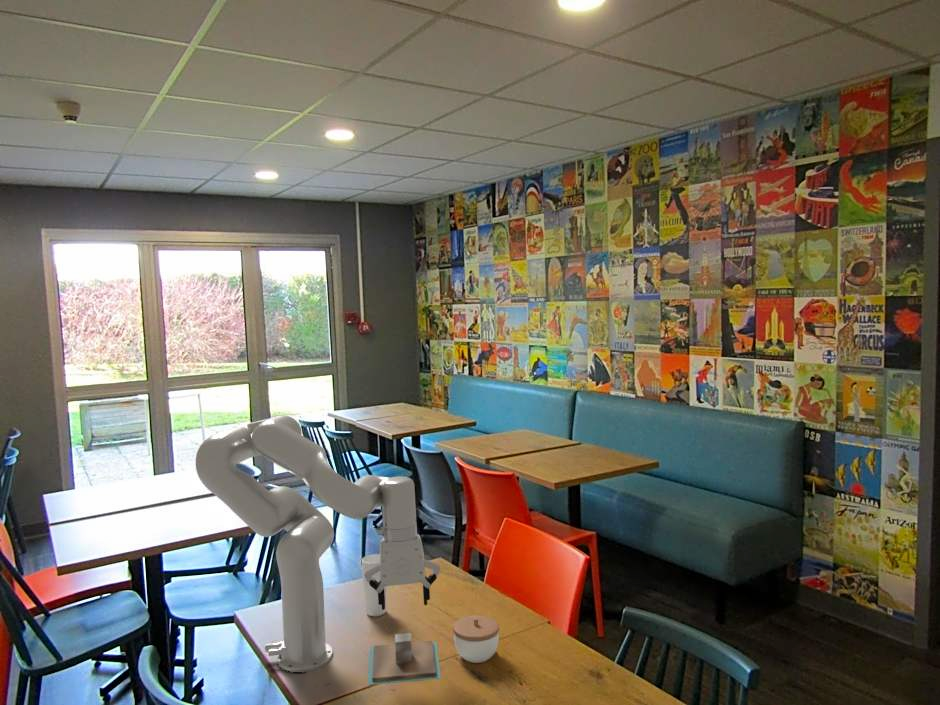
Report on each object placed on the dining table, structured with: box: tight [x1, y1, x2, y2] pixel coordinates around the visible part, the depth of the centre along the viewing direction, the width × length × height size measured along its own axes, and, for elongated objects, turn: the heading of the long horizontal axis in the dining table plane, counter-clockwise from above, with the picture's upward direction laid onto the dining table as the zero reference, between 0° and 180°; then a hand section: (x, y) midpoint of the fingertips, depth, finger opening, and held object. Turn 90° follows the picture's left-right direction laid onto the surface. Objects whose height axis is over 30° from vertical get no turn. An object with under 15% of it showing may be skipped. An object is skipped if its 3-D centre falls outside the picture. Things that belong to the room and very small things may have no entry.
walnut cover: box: [372, 632, 436, 682], centre depth 150 cm, size 14×14×6 cm
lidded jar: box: [452, 614, 500, 664], centre depth 152 cm, size 11×11×9 cm
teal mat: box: [367, 641, 442, 686], centre depth 150 cm, size 16×16×1 cm
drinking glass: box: [361, 553, 388, 617], centre depth 175 cm, size 7×7×15 cm
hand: (404, 605), depth 149 cm, fingers open, 9 cm apart
